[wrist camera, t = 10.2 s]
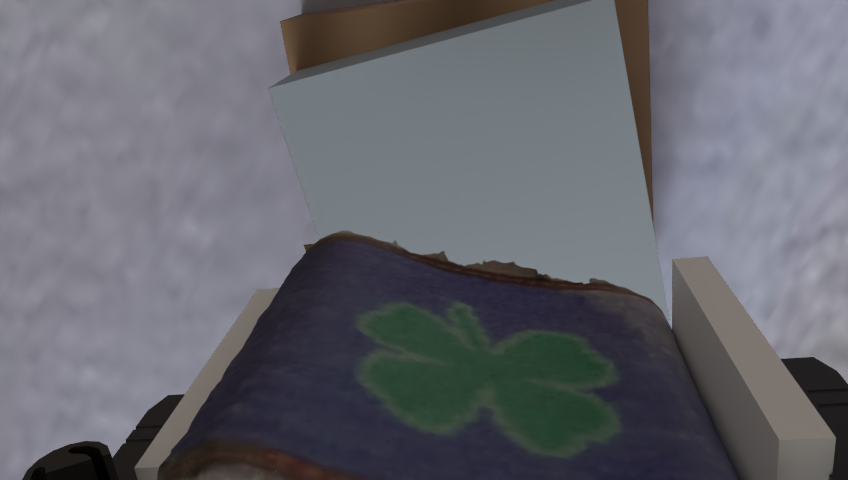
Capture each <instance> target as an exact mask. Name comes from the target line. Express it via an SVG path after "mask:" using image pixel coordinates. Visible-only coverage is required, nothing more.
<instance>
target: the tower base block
mask: <svg viewBox="0 0 848 480" xmlns="http://www.w3.org/2000/svg"><path fill="white" fill-rule="evenodd" d="M551 1H554V0H401V1H394V2H387V3H380V4H372V5H365V6H358V7H351V8H343V9H336V10H329V11H322V12H314V13H307V14H301V15H298V16H295V17H292V18H289V19H286V20H283V21H280V24H281V29H282V34H283V39H284V44H285V49H286V54H287V59H288V64H289V69H290V74H292V73H294V72H296V71H299V70H302V69H306V68H310V67H313V66H317V65H321V64H324V63H328V62H332V61H335V60H339V59H343V58H346V57H350V56H353V55H357V54H361V53H364V52H368V51H372V50H375V49H379V48H383V47H386V46H390V45H394V44H397V43H401V42H405V41H408V40H412V39H416V38H419V37H423V36H426V35H430V34H434V33H437V32H441V31H445V30H448V29H452V28H456V27H459V26H463V25H467V24H470V23H474V22H478V21H481V20H485V19H489V18H492V17H496V16H500V15H503V14H507V13H510V12H514V11H518V10H521V9H525V8H529V7H532V6H536V5H540V4H543V3H547V2H551ZM614 2H615V8H616V13H617V19H618V25H619V31H620V37H621V42H622V48H623V54H624V60H625V66H626V71H627V77H628V83H629V89H630V94H631V100H632V106H633V112H634V118H635V123H636V129H637V135H638V141H639V146H640V152H641V158H642V164H643V170H644V175H645V181H646V187H647V193H648V199H649V204H650V210H651V216H652V222H653V196H652V155H651V113H650V72H649V30H648V0H614Z"/></svg>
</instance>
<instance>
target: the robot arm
mask: <svg viewBox="0 0 848 480" xmlns="http://www.w3.org/2000/svg"><path fill="white" fill-rule="evenodd" d="M279 289H280V288H275V289H261V290H257V291H256V292H255V294H254V295H253V297H252V298H251V300H250V301H249V303H248V304H247V305H246V307H245V308H244V310H243V311H242V313H241V314H240V316H239V317H238V319H237V320H236V321H235V323H234V324H233V326H232V327H231V329H230V330H229V332H228V333H227V334H226V336H225V337H224V339H223V340H222V342H221V343H220V345H219V346H218V347H217V349H216V350H215V352H214V353H213V355H212V356H211V358H210V359H209V360H208V362H207V363H206V365H205V366H204V368H203V369H202V371H201V372H200V373H199V375H198V376H197V378H196V379H195V381H194V382H193V384H192V385H191V387H190V388H189V389H188V391H187V392H186V394H183V395H168V396H167V397H165V398H164V399H163V400H161V401H160V402H159V403H157V404H156V405H155V406H153V407H152V408H151V409H149V410H148V411H147V413H146V414H145V415H144V417H143V418H142V419H141V421H140V422H139V423H138V425H137V426H136V430H133V431H132V433H131V434H130V435H129V437H128V438H127V439H126V443H125V444H123V445H122V446H121V447H120V449H119V450H118V451H117V453H116V454H115V455H114V457H113V458H112V457H111V454H110V451H109V449H108V446H107V445H104V444H102V443H100V442H92V441H84V442H79V443H74V444H69V445H67V446H64V447H62V448H59V449H57V450H54V451H52V452H51V453H49V454H47V455H46V456H44V457H42V458H41V459H39V460H38V461H37V462H36V463H35V464H33V465H32V466H31V467H30V468H29V469H28V470H27V472H26V474H25V476H24V478H23V480H157V473H158V469H159V466H160V465H161V464H162V463H163V461H164V460H165V459H166V458H167V457H168V456H169V455H170V453H171V450H172V449H173V447H174V446H175V445H176V444H177V443H178V442H179V441H180V440H181V438H182V437H183V436H184V435H185V434H186V433H187V431H188V429H189V427H190V425H191V423H192V421H193V419H194V418H195V416H196V414H197V413H198V411H199V409H200V407H201V406H202V405H203V404H204V403H205V402H206V400H207V398H208V396H209V394H210V392H211V391H212V390H213V389H214V388H215V386H216V385H217V384H218V383H219V382H220V381H221V379H222V377H223V374H224V372H225V371H226V369H227V367H228V366H229V364H230V362H231V361H232V360H233V359H234V358H235V356H236V355H237V354H238V353H239V352H240V350H241V349H242V348H243V346H244V344H245V342H246V340H247V339H248V337H249V335H250V334H251V332H252V330H253V328H254V326H255V325H256V323H257V320H258V318H259V317H260V316H261V315H262V313H263V312H264V311H265V310H266V309H267V308H268V307H269V305H270V304H271V302H272V300H273V298H274V297H275V295H276V294H277V292H278V290H279ZM672 331H673V333H674V336H675V339H676V343H677V345H678V348H679V350H680V352H681V355H682V357H683V359H684V361H685V364H686V366H687V368H688V370H689V373H690V375H691V377H692V379H693V382H694V384H695V386H696V388H697V390H698V392H699V394H700V397H701V400H702V402H703V404H704V406H705V407H706V409H707V411H708V413H709V415H710V417H711V420H712V422H713V425H714V428H715V431H716V433H717V436H718V438H719V439H720V441H721V442H722V444H723V446H724V447H725V450H726V453H727V456H728V458H729V461H730V463H731V464H732V466H733V468H734V470H735V472H736V474H737V476H738V478H739V480H848V384H847V383H846V381H845V380H844V379H843V378H842V376H841V375H840V374H839V373H838V372H837V371H836V370H834V369H832V368H831V367H829V366H827V365H826V364H824V363H822V362H821V361H819V360H817V359H816V358H814V357H807V358H789V359H780V358H779V357H778V355H777V354H776V352H775V351H774V350H773V348H772V347H771V345H770V344H769V343H768V341H767V340H766V338H765V337H764V336H763V334H762V333H761V331H760V330H759V329H758V327H757V326H756V324H755V323H754V322H753V320H752V319H751V317H750V316H749V314H748V313H747V312H746V310H745V309H744V307H743V306H742V305H741V303H740V302H739V300H738V299H737V298H736V296H735V295H734V293H733V292H732V291H731V289H730V288H729V286H728V285H727V284H726V282H725V281H724V279H723V278H722V277H721V275H720V274H719V272H718V271H717V269H716V268H715V267H714V265H713V264H712V262H711V261H710V260H709V258H708V257H695V258H682V259H672Z"/></svg>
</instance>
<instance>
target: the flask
mask: <svg viewBox="0 0 848 480" xmlns="http://www.w3.org/2000/svg"><path fill="white" fill-rule="evenodd" d="M304 247H305V249H306V253H305V254H304V256H303V257H302V258H301V260H300V261H299V262H298V263H297V264H296V265H295V266H294V267H293V268H292V270H291V272H290V274H289V275H288V276H287V278H286V279H285V281H284V283H283V284H282V286H281V287H280V289H279V290H278V292H277V294H276V295H275V297H274V298H273V300H272V302H271V304H270V305H269V307H268V308H267V309H266V310H265V311H264V312H263V313H262V315H261V316H260V317H259V318H258V320H257V323H256V325H255V326H254V328H253V330H252V332H251V334H250V335H249V337H248V339H247V340H246V342H245V344H244V346H243V348H242V349H241V350H240V352H239V353H238V354H237V355H236V356H235V358H234V359H233V360H232V361H231V362H230V364H229V366H228V367H227V369H226V371H225V372H224V374H223V377H222V379H221V381H220V382H219V383H218V384H217V385H216V386H215V388H214V389H213V390H212V391H211V392H210V394H209V396H208V398H207V400H206V402H205V403H204V404H203V405H202V406H201V407H200V409H199V411H198V413H197V414H196V416H195V418H194V419H193V421H192V423H191V425H190V427H189V429H188V431H187V433H186V434H185V435H184V436H183V437H182V438H181V440H180V441H179V442H178V443H177V444H176V445H175V446H174V447H173V449H172V450H171V453H170V455H169V456H168V457H167V458H166V459H165V460H164V461H163V463H162V464H161V465H160V466H159V469H158V473H157V480H739V478H738V476H737V474H736V472H735V470H734V468H733V466H732V464H731V463H730V461H729V458H728V456H727V453H726V450H725V447H724V446H723V444H722V442H721V441H720V439H719V438H718V436H717V433H716V431H715V428H714V425H713V422H712V420H711V417H710V415H709V413H708V411H707V409H706V407H705V406H704V404H703V402H702V400H701V397H700V394H699V392H698V390H697V388H696V386H695V384H694V382H693V379H692V377H691V375H690V373H689V370H688V368H687V366H686V364H685V361H684V359H683V357H682V355H681V352H680V350H679V348H678V345H677V343H676V339H675V336H674V333H673V331H672V329H671V327H670V325H669V323H668V321H667V319H666V317H665V315H664V313H663V311H662V310H661V309H660V308H659V307H658V306H657V305H656V304H655V303H654V302H653V301H652V300H651V299H650V298H647V297H645V296H642V295H640V294H637V293H635V292H633V291H631V290H629V289H627V288H625V287H620V286H616V285H614V284H613V283H612V284H611V283H609V282H607V281H606V280H598V279H596V278H590V280H589V282H590V283H587V284H583V282H579V283H574V282H571V281H568V280H562V279H559V278H554V279H553V278H551V277H550V276H548V275H547V274H544V275H542V274H541V273H540V274H538V272H537V270H536V269H532V268H526V267H520V266H518V265H516V264H515V262H514V261H513V262H509V263H501V262H498V261H496V260H492V261H489V262H485V260H484V261H483V264H480V263H475V264H469V265H466V266H463V265H461V264H459V265H458V264H456V263H454V262H451V261H448V258H447V257H446V255H445V252H444V251H442V252H440V253H438V254H437V253H433V254H424V255H420V254H416V253H411V252H409V251H407V250H406V249H404V248H403V247H401V246H399V245H397V241H395V240H394V242H393V243H390V242H388V241H387V242H385V241H382V240H377V239H375V238H373V237H371V236H364V235H359V234H355V233H352V232H351V231H347V230H344V231H339V232H337V233H333V234H330V235H328V236H326V237H324V238H321V239H320V240H319V241H318V242H316V243H315V244H308V245H304Z"/></svg>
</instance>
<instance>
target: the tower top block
mask: <svg viewBox="0 0 848 480" xmlns="http://www.w3.org/2000/svg"><path fill="white" fill-rule="evenodd" d="M268 90H269V93H270V96H271V99H272V102H273V105H274V108H275V111H276V114H277V117H278V120H279V123H280V125H281V128H282V131H283V134H284V137H285V140H286V143H287V146H288V149H289V152H290V155H291V158H292V161H293V163H294V166H295V169H296V172H297V175H298V178H299V181H300V184H301V187H302V190H303V193H304V196H305V198H306V201H307V204H308V207H309V210H310V213H311V216H312V219H313V222H314V225H315V228H316V231H317V234H318V236H319V239H321V238H324V237H326V236H328V235H330V234H333V233H337V232H339V231H344V230H347V231H351V232H352V233H355V234H359V235H364V236H371V237H373V238H375V239H377V240H382V241H385V242H387V241H388V242H390V243H393V242H394V240H395V241H397V245H399V246H401V247H403V248H404V249H406V250H407V251H409V252H411V253H416V254H420V255H424V254H433V253H437V254H438V253H440V252H442V251H444V252H445V255H446V257H447V258H448V261H451V262H454V263H456V264H458V265H459V264H461V265H463V266H466V265H469V264H475V263H480V264H483V261H484V260H485V262H489V261H492V260H496V261H498V262H501V263H509V262H513V261H514V262H515V264H516V265H518V266H520V267H526V268H532V269H536V270H537V272H538V274H540V273H541V274H542V275H544V274H547V275H548V276H550V277H551V278H553V279H554V278H559V279H562V280H568V281H571V282H574V283H579V282H583V284H587V283H590V282H589V280H590V278H596V279H598V280H606V281H607V282H609V283H611V284H612V283H613V284H614V285H616V286H620V287H625V288H627V289H629V290H631V291H633V292H635V293H637V294H640V295H642V296H645V297H647V298H650V299H651V300H652V301H653V302H654V303H655V304H656V305H657V306H658V307H659V308H660V309H661V310H662V311H663V313H664V315H665V317H666V319H667V320H669V314H668V308H667V303H666V297H665V291H664V285H663V279H662V274H661V268H660V262H659V256H658V251H657V245H656V239H655V233H654V227H653V222H652V216H651V210H650V204H649V199H648V193H647V187H646V181H645V175H644V170H643V164H642V158H641V152H640V146H639V141H638V135H637V129H636V123H635V118H634V112H633V106H632V100H631V94H630V89H629V83H628V77H627V71H626V66H625V60H624V54H623V48H622V42H621V37H620V31H619V25H618V19H617V13H616V8H615V2H614V0H554V1H551V2H547V3H543V4H540V5H536V6H532V7H529V8H525V9H521V10H518V11H514V12H510V13H507V14H503V15H500V16H496V17H492V18H489V19H485V20H481V21H478V22H474V23H470V24H467V25H463V26H459V27H456V28H452V29H448V30H445V31H441V32H437V33H434V34H430V35H426V36H423V37H419V38H416V39H412V40H408V41H405V42H401V43H397V44H394V45H390V46H386V47H383V48H379V49H375V50H372V51H368V52H364V53H361V54H357V55H353V56H350V57H346V58H343V59H339V60H335V61H332V62H328V63H324V64H321V65H317V66H313V67H310V68H306V69H302V70H299V71H296V72H294V73H292V74H291V75H289V76H287V77H286V78H284V79H282V80H281V81H279V82H278V83H276V84H274V85H273V86H271V87H269V88H268Z"/></svg>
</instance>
